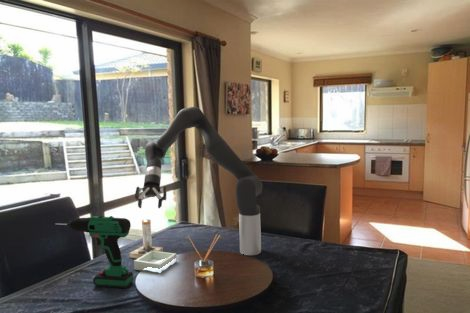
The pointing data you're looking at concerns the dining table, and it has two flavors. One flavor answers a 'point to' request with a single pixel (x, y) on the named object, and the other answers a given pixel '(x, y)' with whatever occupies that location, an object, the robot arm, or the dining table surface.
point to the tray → (153, 260)
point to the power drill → (107, 247)
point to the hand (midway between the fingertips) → (149, 207)
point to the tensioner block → (143, 252)
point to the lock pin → (146, 235)
